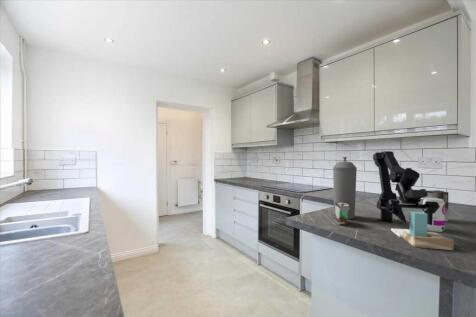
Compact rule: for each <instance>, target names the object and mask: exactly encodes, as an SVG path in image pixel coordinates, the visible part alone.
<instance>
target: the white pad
mask: <svg viewBox="0 0 476 317" xmlns="http://www.w3.org/2000/svg"><path fill="white" fill-rule="evenodd" d="M390 229H391V230H390V231H391V232H393V233H394V234H395V235H397V237H398V238H403V231H406V232H407V233H409V231H410V229H408V228H407V229H406V228H405V229H404V228H390Z"/></svg>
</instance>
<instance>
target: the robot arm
mask: <svg viewBox="0 0 476 317" xmlns="http://www.w3.org/2000/svg"><path fill="white" fill-rule="evenodd" d="M372 160H373V161H374V165H375V166H376V167H377V168H378V173H379V181H380V190H381V192H380V194H379V196H378V200H377V202H376V209H379V210H380V217H379V218H378V221H383V222H387V223H393V222H394V221H395V218H394V216H393V215H395V216H396V217H397V218H398V219H399V220H400V221H401V222H403V223H404V224H405V225H406V224H407V219H406V217H405V214H404V212H403V209H414V210H422V212H424V213H426V214H427V221H428V223H429V224H430V225H432V216H433V213H435V212H436V211H437V210H438V208H439V207H440V206H439V204H438V202H435V201H426V202H425V204H423V203H422V204H421V201H422V200H421V199H424V197H426V196H428V193H427V191H428V190H426V188H420V189H413V188H412V187H415V185H416V183H417V181H418V180H419V178H420V176H421V175H420V173H419V172H418V171H416V170H414V169H412V168H411V167H406V168H404V167H402V166H400V164H399V162H398V159H396V157H395V154H394V151H392V150H390V151H389V150H387V151H384V150H383V151H381V152H380V151H378V152H375V153H374V154H373V155H372ZM391 182H392V183H393V184H394V183H396V184H395V188H394V190H395V191H396V192H397V193H396V192H393V190H392V184H391ZM397 194H398V197H397ZM400 201H401V202H400Z"/></svg>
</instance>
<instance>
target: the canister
mask: <svg viewBox="0 0 476 317" xmlns="http://www.w3.org/2000/svg"><path fill="white" fill-rule="evenodd" d="M342 159H343V161H342V160H341V161H337V162H336V164H334V166H332V170H333V171H332V173H333V175H332V176H333V177H332V181H333V187H332V188H333V215H334V217H335V202H342V203H346V204H348V205H349V207H350V210H348V220H353V219H355V217H356V216H355V214H356V197H357V196H356V194H357V192H356V191H357V170H358V168H357V166H356V165H354V163H353V162H351V161H347V159H348V157H347V156H343V157H342Z"/></svg>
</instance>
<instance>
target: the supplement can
mask: <svg viewBox="0 0 476 317" xmlns="http://www.w3.org/2000/svg"><path fill="white" fill-rule="evenodd" d="M426 201H435V202H438V204H439V206H440V207H439V208H438V210H437V211H436V212H435V213H433V216H432V225H430V224H429V223H428V221H427V231H428V232H435V233H443V231H445V222H446V221H445V202H444V201H443V199H439V198H423V200H422V204H425V202H426ZM422 212H423V211H422ZM423 213H424V212H423Z"/></svg>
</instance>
